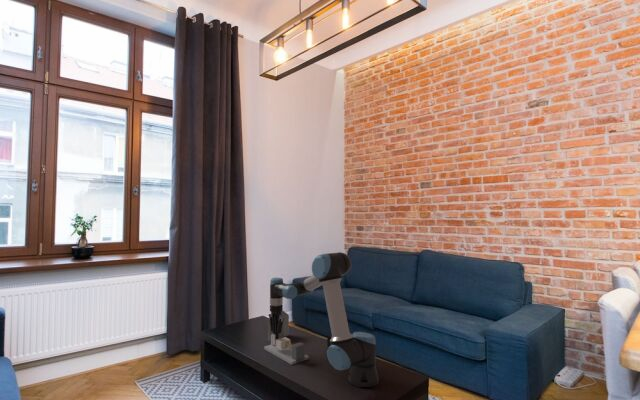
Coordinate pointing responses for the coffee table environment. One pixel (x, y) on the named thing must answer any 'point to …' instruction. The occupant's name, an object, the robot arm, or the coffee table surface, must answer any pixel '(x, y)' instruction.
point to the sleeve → (282, 343)
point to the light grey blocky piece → (288, 352)
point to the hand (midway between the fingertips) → (275, 344)
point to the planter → (284, 327)
